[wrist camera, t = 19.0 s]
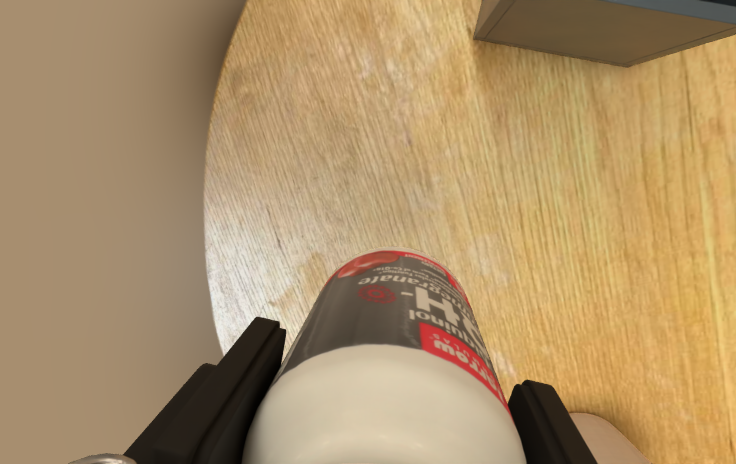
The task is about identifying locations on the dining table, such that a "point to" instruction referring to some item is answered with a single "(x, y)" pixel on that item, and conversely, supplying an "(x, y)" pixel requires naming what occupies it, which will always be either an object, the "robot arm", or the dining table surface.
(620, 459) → the potted plant
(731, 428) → the dining table surface
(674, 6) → the grey box
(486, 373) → the pill bottle
